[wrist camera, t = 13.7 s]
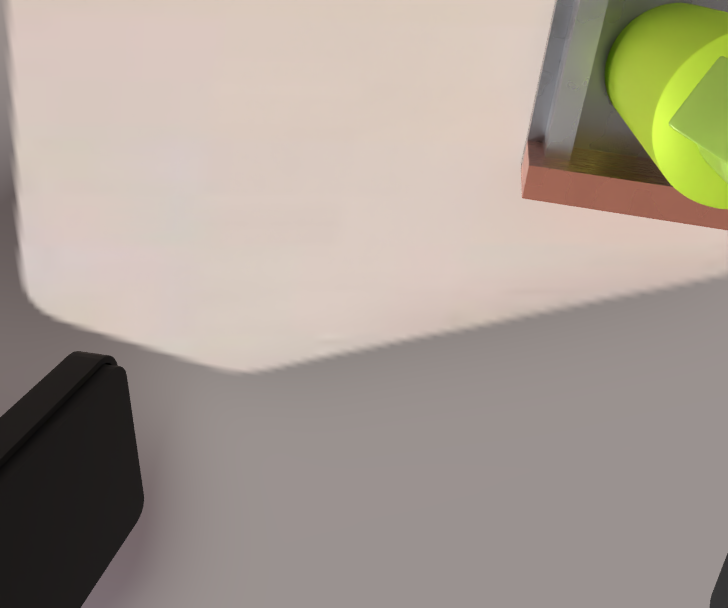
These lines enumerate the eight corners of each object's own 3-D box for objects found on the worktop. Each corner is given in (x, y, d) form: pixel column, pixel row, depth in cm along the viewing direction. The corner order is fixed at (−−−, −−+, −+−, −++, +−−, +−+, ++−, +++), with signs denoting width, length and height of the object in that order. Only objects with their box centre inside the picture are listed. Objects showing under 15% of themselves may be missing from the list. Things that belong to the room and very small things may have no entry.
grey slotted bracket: (597, -242, 30) (615, -284, 25) (913, -217, 28) (1003, -257, 23) (514, 163, 38) (514, 196, 33) (755, 200, 37) (795, 241, 32)
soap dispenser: (639, -35, 32) (795, -31, 15) (761, 44, 33) (1056, 140, 15) (562, 79, 35) (616, 198, 17) (676, 150, 35) (841, 336, 18)
